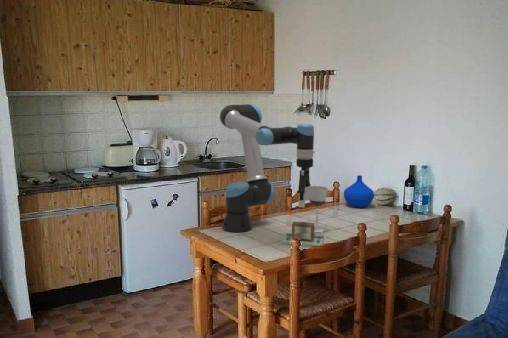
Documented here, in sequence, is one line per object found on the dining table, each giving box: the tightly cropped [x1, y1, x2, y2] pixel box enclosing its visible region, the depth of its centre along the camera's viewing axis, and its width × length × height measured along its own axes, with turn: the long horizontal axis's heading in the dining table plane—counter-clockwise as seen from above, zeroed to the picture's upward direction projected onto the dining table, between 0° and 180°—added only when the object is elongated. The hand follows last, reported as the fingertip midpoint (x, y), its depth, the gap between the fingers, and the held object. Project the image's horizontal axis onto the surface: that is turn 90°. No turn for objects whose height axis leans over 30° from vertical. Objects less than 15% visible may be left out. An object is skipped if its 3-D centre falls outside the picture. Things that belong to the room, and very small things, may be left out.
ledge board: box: [281, 232, 325, 247], centre depth 215 cm, size 18×12×2 cm, turn 76°
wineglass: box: [308, 185, 328, 233], centre depth 232 cm, size 9×10×22 cm
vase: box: [343, 174, 375, 209], centre depth 283 cm, size 18×18×19 cm
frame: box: [291, 221, 316, 242], centre depth 215 cm, size 10×4×8 cm, turn 76°
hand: (303, 203), depth 212 cm, fingers open, 13 cm apart
